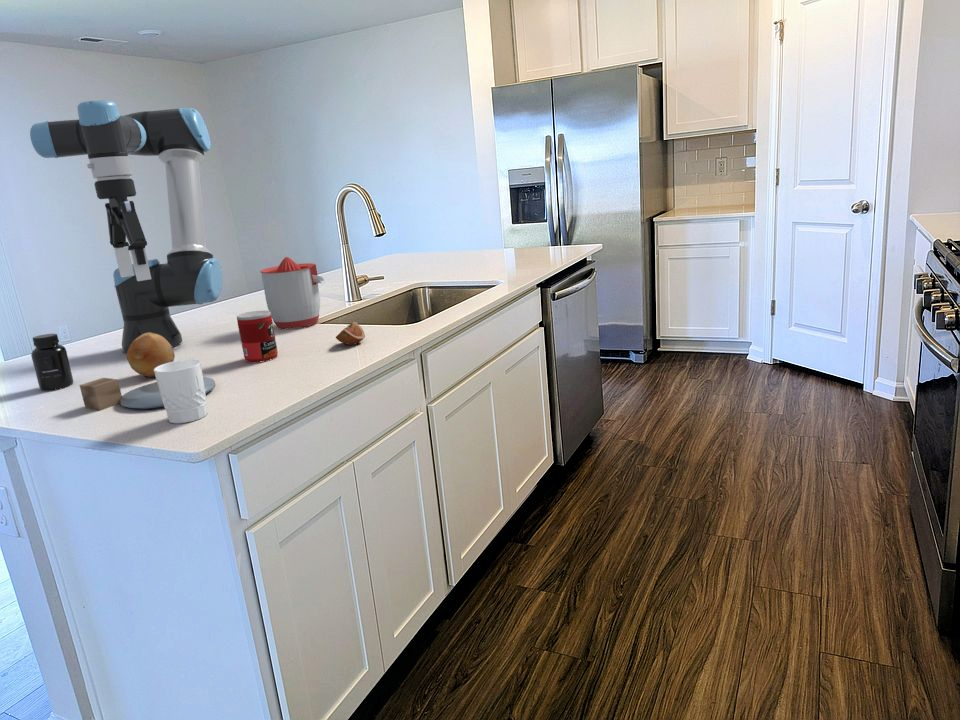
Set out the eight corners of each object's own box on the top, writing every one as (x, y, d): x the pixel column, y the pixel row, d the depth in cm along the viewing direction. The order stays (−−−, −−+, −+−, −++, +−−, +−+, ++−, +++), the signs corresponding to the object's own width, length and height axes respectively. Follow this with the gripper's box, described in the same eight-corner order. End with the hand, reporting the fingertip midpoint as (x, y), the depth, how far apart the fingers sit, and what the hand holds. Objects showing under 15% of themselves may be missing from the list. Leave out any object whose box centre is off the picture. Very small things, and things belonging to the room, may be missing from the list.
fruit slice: (357, 348, 167) (354, 328, 166) (331, 349, 169) (328, 329, 168) (369, 339, 175) (366, 320, 174) (344, 340, 177) (342, 321, 175)
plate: (111, 399, 143) (110, 393, 143) (199, 377, 154) (197, 371, 154) (135, 417, 130) (133, 411, 129) (228, 392, 141) (227, 386, 140)
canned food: (269, 362, 162) (260, 316, 159) (238, 363, 163) (229, 318, 160) (284, 353, 169) (276, 309, 166) (254, 354, 170) (246, 311, 167)
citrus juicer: (323, 328, 193) (312, 257, 188) (262, 333, 194) (250, 262, 189) (335, 316, 208) (325, 250, 203) (279, 321, 209) (267, 255, 204)
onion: (132, 374, 162) (123, 333, 159) (178, 366, 166) (169, 326, 163) (130, 384, 153) (120, 341, 151) (178, 376, 157) (169, 333, 154)
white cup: (174, 412, 131) (162, 362, 128) (216, 407, 131) (206, 357, 128) (158, 427, 123) (146, 373, 120) (203, 422, 124) (192, 368, 121)
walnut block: (85, 408, 139) (79, 385, 138) (108, 400, 143) (103, 377, 142) (100, 411, 136) (94, 387, 135) (123, 402, 141) (117, 379, 139)
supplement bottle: (49, 392, 153) (35, 340, 150) (34, 390, 157) (20, 338, 153) (80, 383, 158) (67, 332, 155) (64, 381, 162) (51, 331, 159)
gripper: (81, 182, 153) (103, 277, 159) (108, 177, 135) (132, 284, 140) (117, 180, 158) (138, 272, 163) (148, 174, 139) (170, 278, 145)
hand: (135, 278), depth 152 cm, fingers open, 13 cm apart
